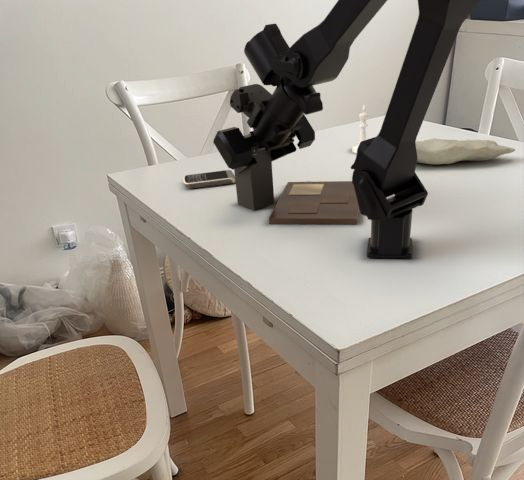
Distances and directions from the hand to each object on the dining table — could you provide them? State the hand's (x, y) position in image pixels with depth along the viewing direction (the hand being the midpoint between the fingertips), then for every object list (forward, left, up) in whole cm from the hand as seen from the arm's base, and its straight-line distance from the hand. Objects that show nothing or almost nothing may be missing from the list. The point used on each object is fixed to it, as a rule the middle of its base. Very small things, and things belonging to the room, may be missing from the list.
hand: (248, 167), depth 99 cm
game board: (-1, -13, -7) cm, 15 cm away
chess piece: (+35, -19, -7) cm, 41 cm away
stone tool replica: (+24, -38, -7) cm, 46 cm away
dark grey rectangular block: (-1, -1, -7) cm, 7 cm away
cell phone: (+12, +12, -7) cm, 18 cm away
